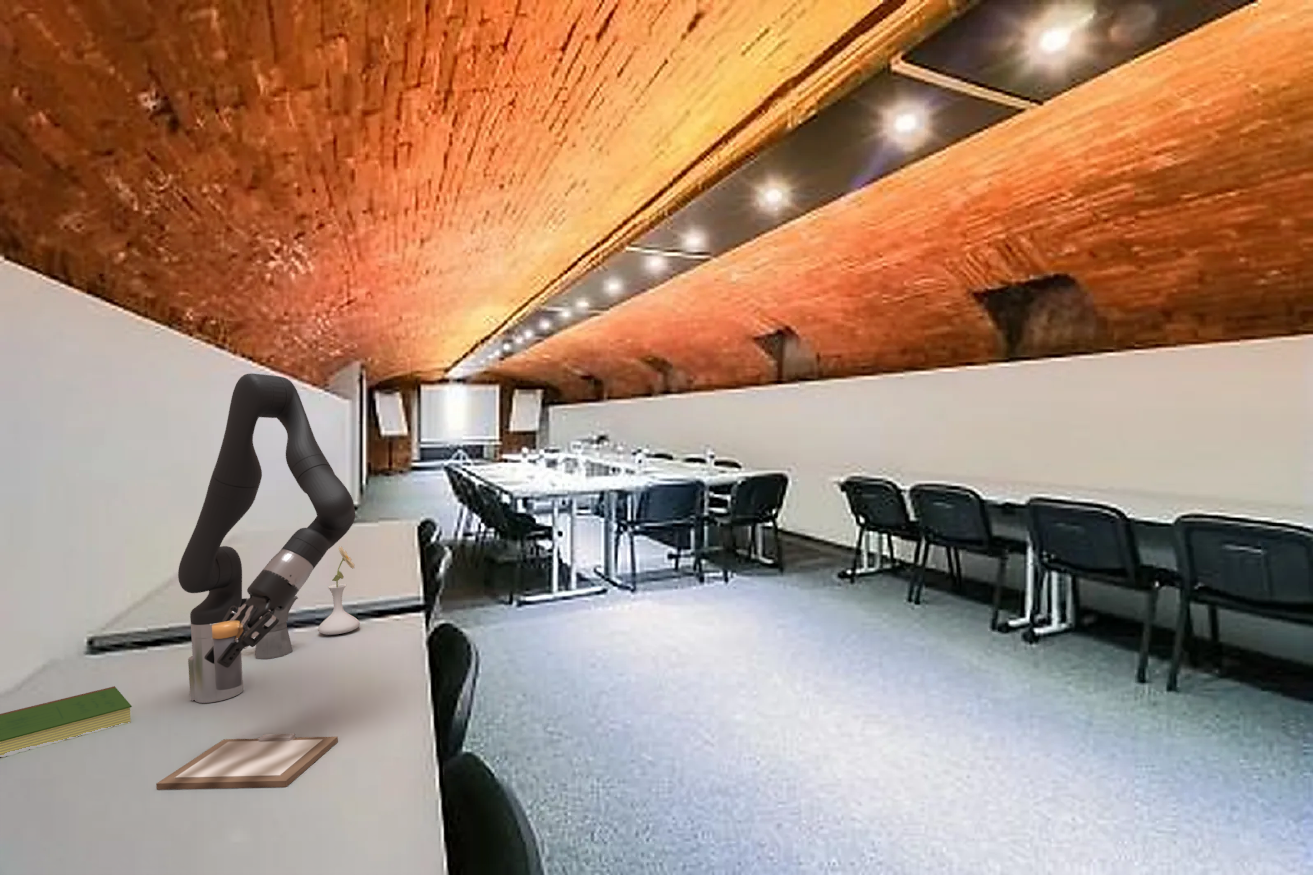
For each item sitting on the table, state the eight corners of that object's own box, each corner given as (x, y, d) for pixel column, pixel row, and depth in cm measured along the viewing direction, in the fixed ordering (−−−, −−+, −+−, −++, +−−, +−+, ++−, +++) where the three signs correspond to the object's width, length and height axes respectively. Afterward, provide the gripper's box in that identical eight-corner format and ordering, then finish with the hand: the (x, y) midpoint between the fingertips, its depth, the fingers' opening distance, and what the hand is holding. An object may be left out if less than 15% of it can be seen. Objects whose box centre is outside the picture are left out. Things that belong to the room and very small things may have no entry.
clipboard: (156, 789, 112) (155, 778, 112) (223, 744, 127) (223, 735, 127) (286, 787, 110) (285, 775, 110) (337, 741, 126) (337, 732, 126)
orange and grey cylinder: (209, 690, 119) (205, 627, 118) (225, 681, 123) (222, 620, 123) (232, 689, 118) (229, 626, 118) (248, 680, 123) (245, 620, 122)
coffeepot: (305, 645, 189) (302, 581, 189) (295, 656, 180) (291, 588, 180) (244, 652, 186) (240, 586, 186) (230, 663, 177) (227, 594, 176)
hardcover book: (115, 702, 153) (114, 686, 153) (132, 724, 141) (131, 705, 141) (-44, 743, 135) (-45, 724, 135) (-41, 772, 122) (-42, 751, 122)
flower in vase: (349, 637, 196) (345, 550, 196) (310, 639, 196) (305, 552, 196) (369, 624, 209) (365, 543, 209) (332, 626, 209) (328, 544, 209)
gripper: (246, 565, 131) (178, 647, 120) (287, 570, 123) (218, 658, 113) (276, 587, 135) (212, 667, 125) (317, 593, 127) (253, 679, 117)
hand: (215, 662), depth 119 cm, fingers closed on orange and grey cylinder, 4 cm apart
